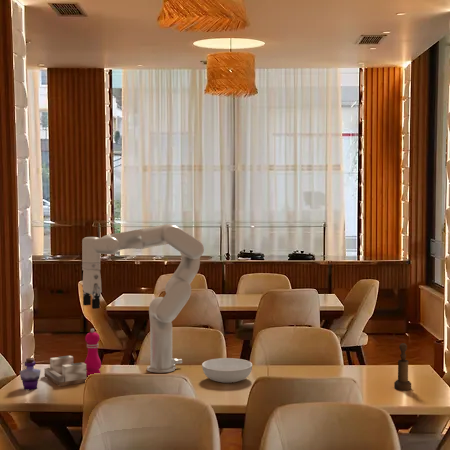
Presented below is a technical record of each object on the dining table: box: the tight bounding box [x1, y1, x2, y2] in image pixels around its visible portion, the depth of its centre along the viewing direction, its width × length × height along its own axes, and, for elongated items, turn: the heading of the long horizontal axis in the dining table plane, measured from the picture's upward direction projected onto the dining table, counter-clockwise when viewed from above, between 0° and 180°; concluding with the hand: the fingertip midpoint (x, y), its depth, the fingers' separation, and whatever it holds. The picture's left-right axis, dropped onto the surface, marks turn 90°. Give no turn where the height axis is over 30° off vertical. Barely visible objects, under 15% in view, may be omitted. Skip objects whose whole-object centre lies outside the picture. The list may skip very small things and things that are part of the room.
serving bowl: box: [201, 357, 253, 384], centre depth 318 cm, size 21×21×7 cm
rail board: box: [44, 355, 87, 387], centre depth 319 cm, size 12×18×8 cm, turn 32°
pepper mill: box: [84, 328, 102, 377], centre depth 325 cm, size 7×7×20 cm
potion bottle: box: [19, 357, 41, 391], centre depth 305 cm, size 9×9×12 cm
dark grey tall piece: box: [393, 342, 412, 391], centre depth 304 cm, size 7×6×18 cm
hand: (91, 306), depth 324 cm, fingers open, 9 cm apart
